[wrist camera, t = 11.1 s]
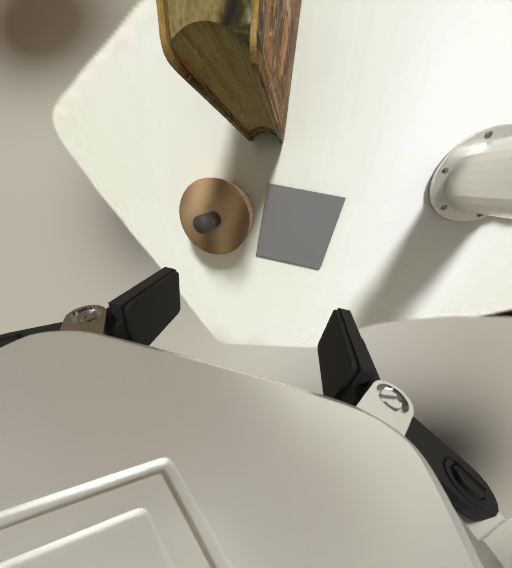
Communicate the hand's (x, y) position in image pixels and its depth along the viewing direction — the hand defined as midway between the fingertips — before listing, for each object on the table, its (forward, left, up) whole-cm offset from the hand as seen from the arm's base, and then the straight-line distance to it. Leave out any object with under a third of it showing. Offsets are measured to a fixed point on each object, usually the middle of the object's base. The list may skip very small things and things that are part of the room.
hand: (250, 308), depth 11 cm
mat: (-3, +1, -30) cm, 30 cm away
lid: (+12, +1, -25) cm, 28 cm away
